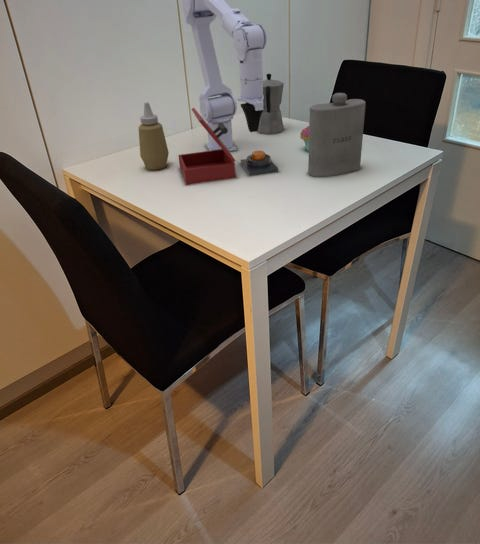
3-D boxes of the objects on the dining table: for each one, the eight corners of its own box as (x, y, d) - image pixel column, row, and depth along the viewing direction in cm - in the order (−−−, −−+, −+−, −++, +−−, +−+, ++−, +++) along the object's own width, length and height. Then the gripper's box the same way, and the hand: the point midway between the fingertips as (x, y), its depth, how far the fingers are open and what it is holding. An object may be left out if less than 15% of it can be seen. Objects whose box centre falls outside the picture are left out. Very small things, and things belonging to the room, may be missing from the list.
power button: (250, 157, 135) (250, 151, 134) (263, 155, 135) (262, 149, 134) (253, 161, 132) (253, 155, 131) (266, 160, 132) (266, 153, 132)
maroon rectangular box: (186, 185, 128) (184, 170, 125) (180, 168, 138) (178, 154, 136) (235, 177, 130) (234, 163, 128) (225, 162, 140) (224, 148, 138)
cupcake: (330, 153, 141) (332, 112, 135) (301, 155, 142) (301, 113, 135) (326, 144, 148) (328, 104, 142) (298, 145, 149) (299, 105, 142)
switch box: (240, 163, 138) (240, 153, 137) (267, 159, 140) (267, 149, 138) (249, 176, 130) (249, 165, 129) (277, 172, 132) (277, 161, 130)
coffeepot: (257, 124, 170) (255, 70, 160) (284, 123, 168) (284, 68, 159) (254, 138, 157) (252, 80, 147) (283, 138, 156) (283, 79, 146)
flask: (314, 179, 126) (317, 100, 115) (305, 172, 130) (306, 95, 120) (365, 169, 129) (372, 92, 119) (354, 162, 134) (360, 87, 123)
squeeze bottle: (165, 172, 136) (155, 106, 126) (138, 171, 138) (126, 106, 128) (174, 161, 143) (165, 99, 133) (148, 161, 144) (138, 99, 135)
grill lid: (199, 121, 120) (211, 110, 119) (191, 109, 130) (203, 98, 129) (233, 162, 127) (245, 152, 127) (223, 148, 138) (234, 138, 137)
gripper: (229, 74, 129) (232, 125, 136) (243, 85, 117) (245, 141, 124) (255, 71, 130) (257, 122, 137) (271, 82, 118) (272, 137, 125)
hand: (253, 131), depth 131 cm, fingers closed
